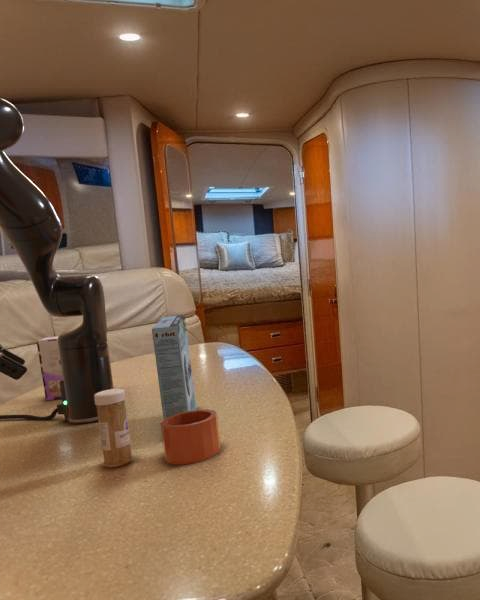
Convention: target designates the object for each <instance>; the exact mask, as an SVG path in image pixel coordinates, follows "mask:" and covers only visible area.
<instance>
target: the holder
mask: <svg viewBox="0 0 480 600" xmlns="http://www.w3.org/2000/svg"><path fill="white" fill-rule="evenodd" d="M160 429H161V438H162V448H163V454H164V459H165V462H166V463H168V464H170V465H189V464H193V463H198V462H202V461H205V460H207V459H209V458H212V457H215V456H216V455H217V454H218V453H219V452H220V450H221V438H220V437H221V436H220V427H219V419H218V413H217V412H216V410H215V409H208V408H206V409H196V410H192V411H186V412H182V413H178V414H175V415H172V416H169V417H167V418H166V419H162V420H161V422H160Z"/></svg>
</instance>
